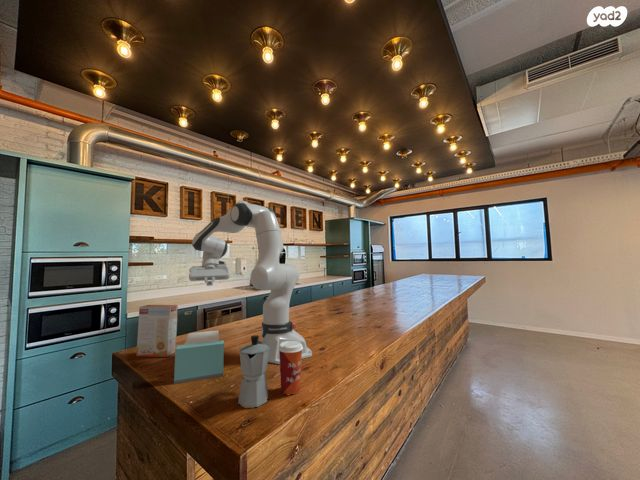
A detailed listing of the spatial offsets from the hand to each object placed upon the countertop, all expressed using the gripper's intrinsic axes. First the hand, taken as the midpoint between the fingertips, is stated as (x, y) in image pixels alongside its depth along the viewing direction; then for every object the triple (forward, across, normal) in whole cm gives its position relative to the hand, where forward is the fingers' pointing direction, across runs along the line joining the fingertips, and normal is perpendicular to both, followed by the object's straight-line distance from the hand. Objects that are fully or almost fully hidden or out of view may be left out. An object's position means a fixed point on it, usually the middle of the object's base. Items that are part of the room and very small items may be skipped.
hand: (209, 284), depth 131 cm
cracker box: (+30, -20, +10) cm, 37 cm away
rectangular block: (+40, -2, +1) cm, 40 cm away
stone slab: (+39, -2, -5) cm, 39 cm away
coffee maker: (+68, +14, -26) cm, 74 cm away
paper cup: (+68, +25, -25) cm, 77 cm away
